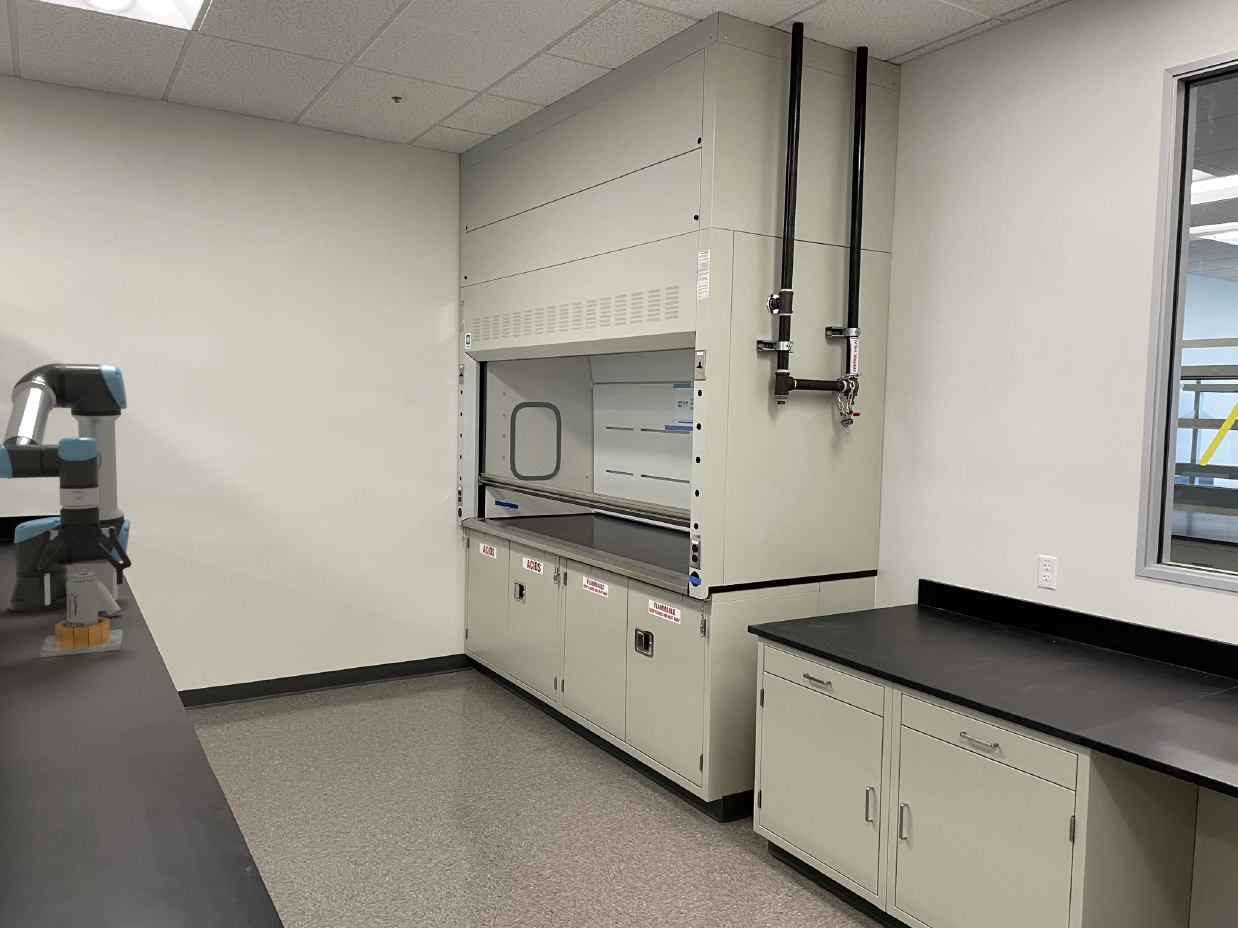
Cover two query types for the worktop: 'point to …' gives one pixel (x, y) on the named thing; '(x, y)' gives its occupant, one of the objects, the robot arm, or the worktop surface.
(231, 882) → the worktop surface
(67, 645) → the keeper
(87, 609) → the energy drink can
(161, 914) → the worktop surface
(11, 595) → the robot arm
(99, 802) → the worktop surface
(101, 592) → the wall hook
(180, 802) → the worktop surface
